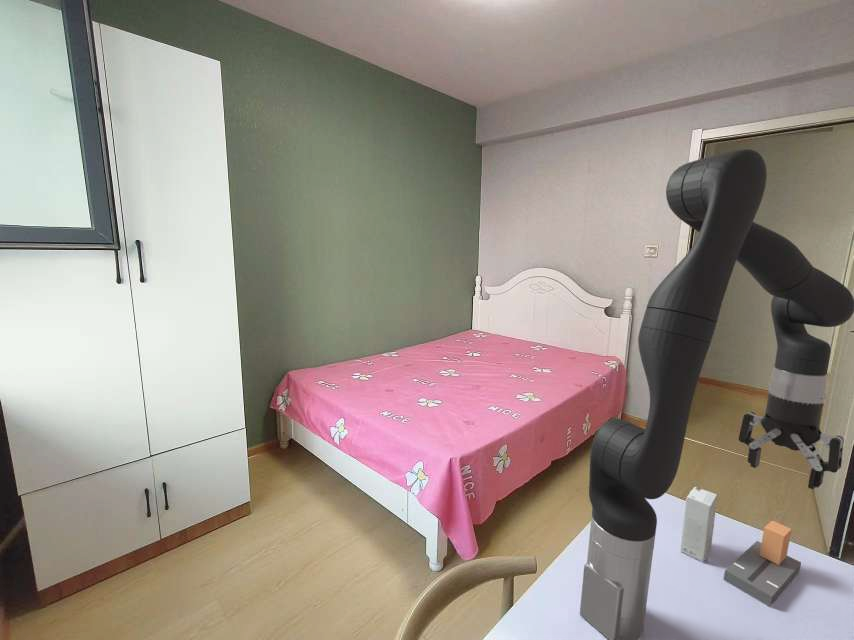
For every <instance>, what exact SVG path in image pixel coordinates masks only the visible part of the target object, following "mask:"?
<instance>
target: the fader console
mask: <svg viewBox="0 0 854 640" xmlns="http://www.w3.org/2000/svg"><path fill="white" fill-rule="evenodd" d="M761 543H762V541H761V542H760V541H759V540H756V541H755V542H754V543H753V544H751V546H750V547H749V548H747V549H746V550H745V551H744V552H743V553H742V554H741V555H740V556H739V557H737V558H736V559H735V560H734V561H733V562H732V563H731V564H730V565H728V567H726V568H725V570H724V574H723V581H725V582H727V583H729V584H730V585H732V586H734V587H735V588H737V589H739V590H740V591H742V592H743V593H745V594H747V595H749V596H751V597H752V598H754V599H755V600H757V601H759V602H760V603H762V604H765V605H766V606H768V607H772V605H773V604H774V603H775V602H776V600H777V599H779V597H780V596H781V595H782V593H783V592H784V591H785V590H786V588H788V586H789V585H790V584H791V583H792V581H793V580H794V579H795V578H796V576H797V575H799V573H800V571H801V568H802V567H801V566H802V562H801V561H799V560H797V559H795V558H793V557H791V556H789V555H787V556H786V558H785V559H784V560H783V561H782V562H781V563H780V564H779V565H778V564H776V563H774V562H772V561H770V560H768V559H766V558H764V557H762V556H760V549H761Z"/></svg>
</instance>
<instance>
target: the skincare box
mask: <svg viewBox="0 0 854 640" xmlns="http://www.w3.org/2000/svg"><path fill="white" fill-rule="evenodd" d="M717 499H718V494H716V493H714V492H711V491H709V490H705V489H702V488H699V487H697V486H694V487H693V488H692V489H691V490H690V491H689V494H688V495H687V496H686V499H685V508H684V516H683V523H682V524H683V525H682V532H681V533H682V535H681V542H680V553H683V554H684V555H686V556H689V557H690V558H693V559H694V560H696V561H699V562H701V563H703V562H705V561H706V560H707V558H708V556H709V554H710V552H711V549H712V543H713V535H714V527H715V517H716V512H717V511H716V509H717Z"/></svg>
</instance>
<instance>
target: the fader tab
mask: <svg viewBox="0 0 854 640" xmlns="http://www.w3.org/2000/svg"><path fill="white" fill-rule="evenodd" d="M791 534H792V528H790V527H788V526H786V525H783V524H780V523H779V522H776V521H775V520H771V521H769V523H767V524H766V525H765V526H764V527H763V533H762V539H761V549H760V556H762V557H764V558H766V559H768V560H770V561H772V562H774V563H776V564H778V565H779V564H780V563H781V562H782V561H783V560H784V559H785V558H786V556H788V550H789V546H790V545H789V544H790V539H791Z"/></svg>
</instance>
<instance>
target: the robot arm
mask: <svg viewBox="0 0 854 640" xmlns="http://www.w3.org/2000/svg"><path fill="white" fill-rule="evenodd" d="M767 175H768V174H767V166H766V163H765V159H764V158H763V156H762V155H761V153H759V152H758V151H755V150H753V149H747V148H745V149H737V150H732V151H726V152H723V153H719V154H715V155H712V156H708V157H705V158H700V159H696V160H693V161H690V162H689V161H688V162H687V163H685V164H682V165H680V166H679V167H678V168H676V169H675V170H674V171H673V172H672V174H671V175H670V177H669V178H668V181H667V184H666V188H665V196H666V201H667V204H668V206H669V209H670V210H671V212H672V213H673V214H674V215H675V216H676V217H677V218H678V219H679V220H681V221H682V222H683V223H685V224H686V225H688V226H689V227H690V228H692V229H694V230H695V231H696V232H697V233H698V235H697V237H696V238H695V241H694V243H693V245H692V247H691V248H690V249H689V250H688V252H687V253H686V255H685V256H684V257H683V258H682V259H681V260H680V262H679V263H677V265H676V266H675V267H674V268H673V269H672V270H671V271H669V273H668V274H667V275H666V276H665V277H664V279H663V280H662V281H661V282H660V283H659V284H658V286H657V287H656V288H655V290H653V292H652V294H651V296H650V297H649V299H648V302H647V305H646V308H645V311H644V315H643V318H642V321H641V325H640V329H639V333H638V338H637V341H638V351H639V355H640V359H641V364H642V366H643V371H644V375H645V378H646V381H647V386H648V390H649V410H648V415H647V419H646V425H645V428H644V427H641V426H639V425H637V424H635V423H633V422H631V421H629V420H625V419H622V418H612V419H608V420H606V421H605V422H604V423H602V424H601V425H600V427H599V428H598V429H597V431H596V432H595V434H594V437H593V440H592V442H591V443H592V444H591V447H590V453H589V454H590V457H589V481H588V483H589V484H588V497H589V503H590V505H591V517H590V519H591V520H590V530H589V540H588V549H587V559H586V563H584V565H583V566H584V567H583V575H582V577H583V578H582V586H581V597H580V607H579V615H580V616H581V617H582V618H583V619H584V620H586V621H587V622H588V623H589V624H590V625H592V626H593V627H594V628H595V629H596V630H597V631H598V632H600V633H601V635H603V636H604V637H605V638H606V639H608V640H636V639H638V638H639V637H640V636H642V634H643V632H644V625H645V619H646V612H647V611H646V610H647V603H648V595H649V587H650V586H649V585H650V579H651V573H652V572H651V571H652V564H653V555H654V548H655V540H656V531H657V526H658V525H657V524H658V517H657V512H656V511H655V509H654V507H653V506H652V504H650V502H649V501H648V500H657V499H659V498H661V497H662V496H664V495H665V494H666V493H667V492H668V490H669V489H670V488H671V486H672V484H673V482H674V480H675V478H676V475H677V474H678V473H677V472H678V469H679V466H680V462H681V457H682V454H683V453H682V452H683V448H684V444H685V440H686V439H685V437H686V433H687V428H688V422H689V419H690V413H691V408H692V404H693V401H694V400H693V399H694V396H695V392H696V388H697V386H698V382H699V379H700V375H701V372H702V369H703V365H704V363H705V360H706V358H707V353H708V351H709V349H710V346H711V343H712V340H713V337H714V334H715V331H716V327H717V323H718V320H719V316H720V312H721V308H722V303H723V301H724V297H725V295H726V292H727V288H728V285H729V282H730V279H731V277H732V274H733V270H734V268H735V265H736V262H738V263H739V264H740V265H741V266H742V267H743V268H744V269H745V270H746V271H747V272H748V273H749V274H750V275H751V277H753V279H754V280H756V281H755V282H757V284H759V286H760V287H762V288H763V290H764V291H766V292H767V293H769V295H771V296H772V299H771V303H770V312H771V317H772V323H773V328H774V332H775V339H776V346H777V347H776V348H777V349H776V354H775V362H774V367H773V369H772V370H773V371H772V374H771V377H770V381H769V385H768V386H769V387H768V393H767V399H766V400H767V401H766V405H765V406H766V407H765V415H764V416H760V415H757V414H756V413H755V412H754V411H749V412H747V413H746V414H744V415H743V418H742V421H741V427H740V430H739V435H738V441H739V442H740V443H742V444H743V443H744V444H745V445H747V447H748V456H747V462H748V464H750V467H751V468H754V469H756V468H757V467H759V466H760V460H761V454H762V447H761V446H763V445H764V444H766V443H768V442H770V441H771V442H772V443H774V445H775V446H779V447H785V448H787V449H789V450H791V451H795V452H797V451H800V452H801V454H802V455H803V457H804V458H805V459H806V460H808V462H809V464H810V465H811V467H812V468H811V469H810V473H809V480H808V483H807V484H808V486H807V488H808V489H810V490H814V489H816V488H820V486H821V485H822V484H823V482H824V476H825V475H824V474H825V472H829V473H830V472H831V473H837V472H838V471H839V470H840V469H841V468H842V461H843V452H844V441H845V440H844V437H843V436H842V435H835V436H834V435H831V434H830V435H829V434H825V433H822V430H821V429H820V427H821V420H822V415H823V410H824V409H823V408H824V404H825V399H826V398H827V384H828V383H827V377H828V370H829V364H830V358H831V353H832V351H831V349H832V348H831V345H830V344H829V343H828V342H827V341H825V340H823V339H820V338H818V337H815V336H814V335H811V334H810V333H809V332H808V331H807V329H806V325H809V326H816V327H821V328H832V327H833V328H834V327H838V326H841V325H843V324H845V323H847V322H848V321H849V320H850V319H851V317H852V316H853V314H854V296H853V295H852V293H851V291H850V290H849V288H848V287H846V286H845V285H844V284H843V283H841V282H840V281H838V280H837V279H835V278H833V277H832V276H830V275H828V274H827V273H825V272H824V271H822V270H820V269H818V268H817V267H814V266H813V264H812V263H811V262H810V261H809V260H808V259H807V257H806V256H805V255H804V254H803V252H802V251H801V250H800V249H799V248H798V246H797V245H795V244H794V243H793V242H792V241H790V240H789V239H788V238H786V236H784V235H781V234H780V233H777V232H775V231H773V230H772V229H770V228H767V227H765V226H764V225H760V224H758V223H756V222H755V221H754V220H755V218H756V215H757V212H758V210H759V208H760V206H761V203H762V201H763V197H764V193H765V190H766V185H767V177H768V176H767ZM758 424H760V425H761V426H762V428H763V429H764V431H765V434H763V435H761V436H760V437H758V438H756V439H755V438H753V437H752V433H753V428H754V427H755V426H757V425H758ZM819 441H822V442H823V444H824V447H825V448H827V449H828V450H829V451H828V461H825V459H824V458H823V456H822V455H821V453H820V451H819V449H818V447H817V446H816V443H817V442H819Z"/></svg>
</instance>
